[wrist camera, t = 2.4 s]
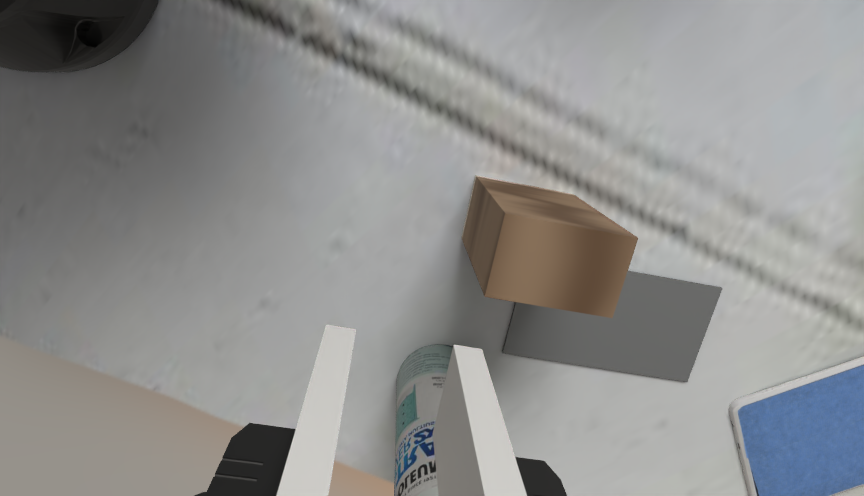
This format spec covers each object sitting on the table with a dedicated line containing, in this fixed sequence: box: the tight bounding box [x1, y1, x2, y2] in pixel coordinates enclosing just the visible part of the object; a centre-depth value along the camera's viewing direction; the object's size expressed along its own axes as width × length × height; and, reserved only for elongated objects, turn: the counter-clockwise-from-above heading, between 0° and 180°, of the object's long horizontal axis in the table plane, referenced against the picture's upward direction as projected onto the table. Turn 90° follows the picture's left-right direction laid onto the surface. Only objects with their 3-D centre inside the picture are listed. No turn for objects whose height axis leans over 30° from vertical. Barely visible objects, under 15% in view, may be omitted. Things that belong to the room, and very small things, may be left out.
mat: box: [503, 271, 722, 382], centre depth 41 cm, size 15×8×1 cm, turn 79°
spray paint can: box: [394, 345, 453, 496], centre depth 33 cm, size 6×6×20 cm
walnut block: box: [461, 175, 638, 318], centre depth 33 cm, size 7×4×11 cm, turn 79°
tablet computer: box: [729, 356, 864, 496], centre depth 46 cm, size 19×13×1 cm, turn 111°
